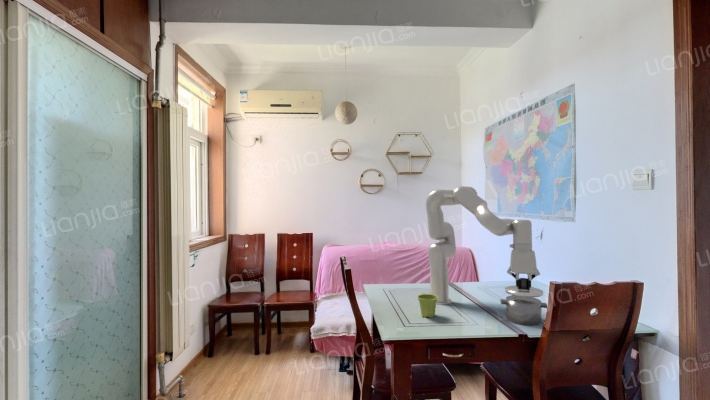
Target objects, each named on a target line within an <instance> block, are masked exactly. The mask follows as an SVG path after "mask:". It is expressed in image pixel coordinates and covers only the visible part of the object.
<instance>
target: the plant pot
mask: <svg viewBox="0 0 710 400" xmlns="http://www.w3.org/2000/svg"><path fill="white" fill-rule="evenodd" d="M417 298H418V304H419V308H420V315H421V316H422V317H424V318H427V317H428V318H433V317H435V315H436V309H437V308H436V306H437V304H436V302H437V299H438V297H437V296H435V295H431V294H422V293H421V294H419V295H417Z"/></svg>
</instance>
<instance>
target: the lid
mask: <svg viewBox="0 0 710 400" xmlns="http://www.w3.org/2000/svg"><path fill="white" fill-rule="evenodd" d="M527 278H528V277H519V280H520V289H518V287H516V285H508V286H506V287H505V288H504V289H505V290H504V292H505V293H507V294H508V295H510V296H512V295H515V296H521V297H533V298H540V297H543V296H544V290H542V289H540V288H537V287H534V286H531V288H530V290H528V283H527Z"/></svg>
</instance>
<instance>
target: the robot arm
mask: <svg viewBox="0 0 710 400" xmlns="http://www.w3.org/2000/svg"><path fill="white" fill-rule="evenodd" d="M456 205H461V206H462V207H464V208H465V209H466V210H467V211H469V212H470V213H471V214H472V215H474V217H475V218H476V220H477V221H478V222H479V223H480V225H481V226H482V227H484V228H485V229H486V230H487V231H489V232H490V233H491V234H493V235H495V236H497V237H505V236H508V235H512V243H511V244H509V248H512V249H511V252H510V263H509V264H510V265H509V267H508V269H507V270H506V273H507V274H508V275H510V276H512V277H513V278H514V279H515V286H516V287H518V289H520V280H519V278H520V274H521V275H523V274H524V275H525V274H526V275H527V277H526V278H527V283H528V290H530V288H531V287H532V281H533V279H535V278H536V277H538V276H541V273H540V270H539V269H538V268H537V258H536V252H535V250H533V233H532V232H533V228H532V221H531V220H529V219H512V218H499V216H498V215H496V214H494V213H493V212H492V211H491V210H490V209H489V208H488V202H487V201H486V200H485V199H483V198H482V197H480V196H479V195H478V192H477V190H476V189H475V188H474V187H472V186H466V185H465V186H458V187H456V188H454V189H436V190H433V191H431V192H430V193H429V194H428V195H427V197H426V199H425V210H426V216H427V218H426V219H427V229H428V235H429V237H430V238H431V239H432V240H434V241H438V242H434V243H432V244H431V245H430V246H429V247H428V250H427V254H428V260H429V279H430V280H429V282H430V283H429V286H430V287H429V288H430V289H429V290H430V291H429V292H422V293H421V295H422V294H431V295H435V296H437V297H438V299H437V302H436V305H441V306H443V305H444V306H445V305H450V304H452V302H453V301H452V299H451V298H449V297H450V296H449V290H450V289H449V288H450V286H449V285H450V284H449V265H448V262H447V260H448V259H452V258H453V257H454V256H455V255H456V252H457V250H456V249H457V247H456V237H455V235H456V234H455V230H454V227H453V225H452V224H451V223H450V222H447V221H445V220H444V212H443V209H442V206H456Z"/></svg>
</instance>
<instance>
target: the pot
mask: <svg viewBox="0 0 710 400" xmlns="http://www.w3.org/2000/svg"><path fill="white" fill-rule="evenodd" d="M500 304H501V305H505V310H506V311H505V312H506V313H505V318H506V320H507V321H509V322H510V323H512V324H516V325H520V326H526V327H527V326H529V327H535V325H536V326H539V325H542V323H543V321H542V319H543V318H542V314H543V313H542V309H548V308H547V305H548V304H547V303H546V302H542V300H541V299H540V298H539V299H538V298H537V297H521V296H515V295H508V296H506V297H505V299H502V298H501V299H500Z"/></svg>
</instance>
